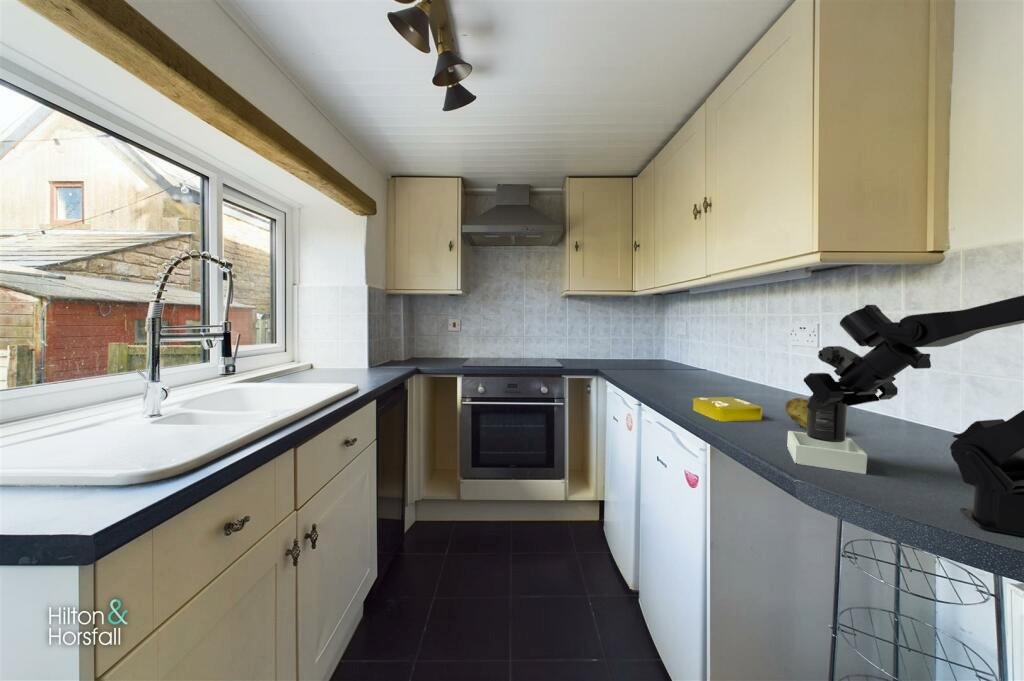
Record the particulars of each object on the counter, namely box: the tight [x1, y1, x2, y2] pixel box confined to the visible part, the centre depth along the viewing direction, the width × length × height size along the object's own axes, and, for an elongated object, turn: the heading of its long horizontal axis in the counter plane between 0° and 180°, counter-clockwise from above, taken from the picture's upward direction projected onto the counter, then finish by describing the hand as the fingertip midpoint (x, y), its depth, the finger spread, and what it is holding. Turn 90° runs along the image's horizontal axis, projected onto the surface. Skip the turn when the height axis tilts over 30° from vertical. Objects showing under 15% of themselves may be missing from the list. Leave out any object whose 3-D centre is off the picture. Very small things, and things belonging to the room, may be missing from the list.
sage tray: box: [786, 430, 868, 475], centre depth 88 cm, size 12×12×4 cm
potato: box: [784, 397, 808, 430], centre depth 111 cm, size 8×13×8 cm, turn 8°
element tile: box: [692, 396, 763, 422], centre depth 126 cm, size 15×15×5 cm
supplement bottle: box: [806, 395, 848, 442], centre depth 87 cm, size 7×7×12 cm
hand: (821, 407), depth 88 cm, fingers closed on supplement bottle, 7 cm apart
